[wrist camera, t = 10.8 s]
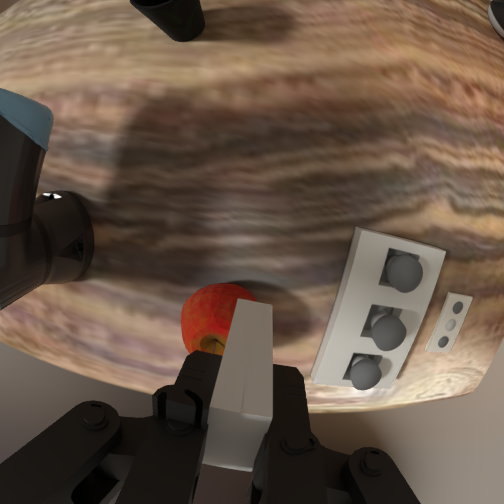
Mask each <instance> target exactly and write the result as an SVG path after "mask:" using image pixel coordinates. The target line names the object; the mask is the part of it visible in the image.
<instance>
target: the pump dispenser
mask: <svg viewBox="0 0 504 504" xmlns="http://www.w3.org/2000/svg"><path fill="white" fill-rule="evenodd" d="M488 16H489V19H490V22H491V24H492V25H493V27H494V28H495V30H496V31H497V32H498V33H499V34H500V35H501V36H502V37H503V38H504V0H492V1H491V3H490V6H489V8H488Z"/></svg>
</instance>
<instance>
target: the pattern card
mask: <svg viewBox="0 0 504 504" xmlns="http://www.w3.org/2000/svg"><path fill="white" fill-rule="evenodd" d="M472 299H473V297H472V296H468V295H462V294H457V293H452V292H448V294H447V297H446V300H445V302H444V305H443V308H442V310H441V313H440V315H439V318H438V320H437V323H436V325H435V327H434V330H433V332H432V334H431V336H430V339H429V341H428V343H427V345H426V347H425V351H426V352H446V353H449V352H450V350H451V348H452V346H453V344H454V342H455V340H456V337H457V335H458V333H459V331H460V328H461V326H462V324H463V321H464V319H465V317H466V314H467V312H468V309H469V307H470V304H471V301H472Z"/></svg>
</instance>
